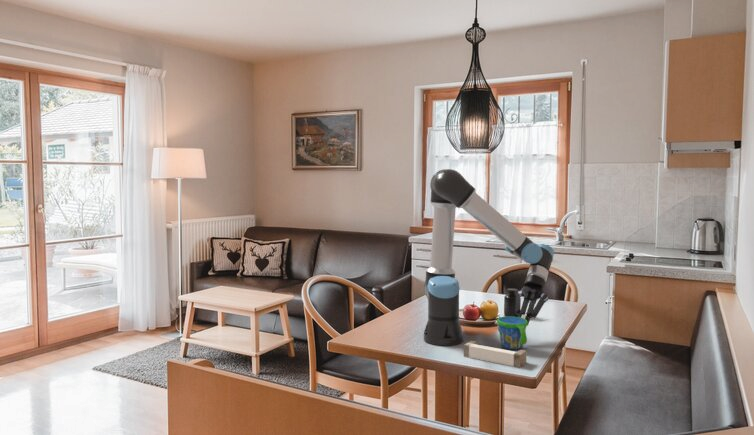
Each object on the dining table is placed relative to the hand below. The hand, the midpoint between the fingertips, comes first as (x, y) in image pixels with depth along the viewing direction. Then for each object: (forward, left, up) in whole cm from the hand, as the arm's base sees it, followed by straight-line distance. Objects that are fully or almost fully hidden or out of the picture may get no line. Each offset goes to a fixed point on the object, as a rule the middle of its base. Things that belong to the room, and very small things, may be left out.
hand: (520, 331), depth 203 cm
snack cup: (-1, -6, -5) cm, 8 cm away
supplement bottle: (-18, +37, -5) cm, 41 cm away
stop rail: (-1, -21, -5) cm, 22 cm away
